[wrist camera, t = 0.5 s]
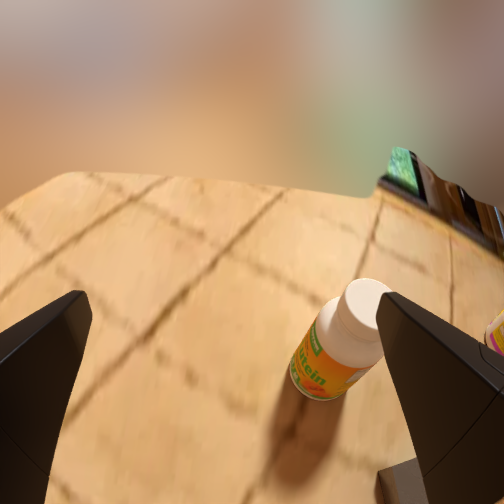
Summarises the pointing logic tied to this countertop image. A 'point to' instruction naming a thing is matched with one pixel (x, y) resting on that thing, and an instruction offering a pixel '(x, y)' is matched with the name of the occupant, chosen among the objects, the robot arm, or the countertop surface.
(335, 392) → the supplement bottle
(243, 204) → the countertop surface
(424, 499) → the panel
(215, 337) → the countertop surface
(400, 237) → the countertop surface
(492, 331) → the supplement bottle
